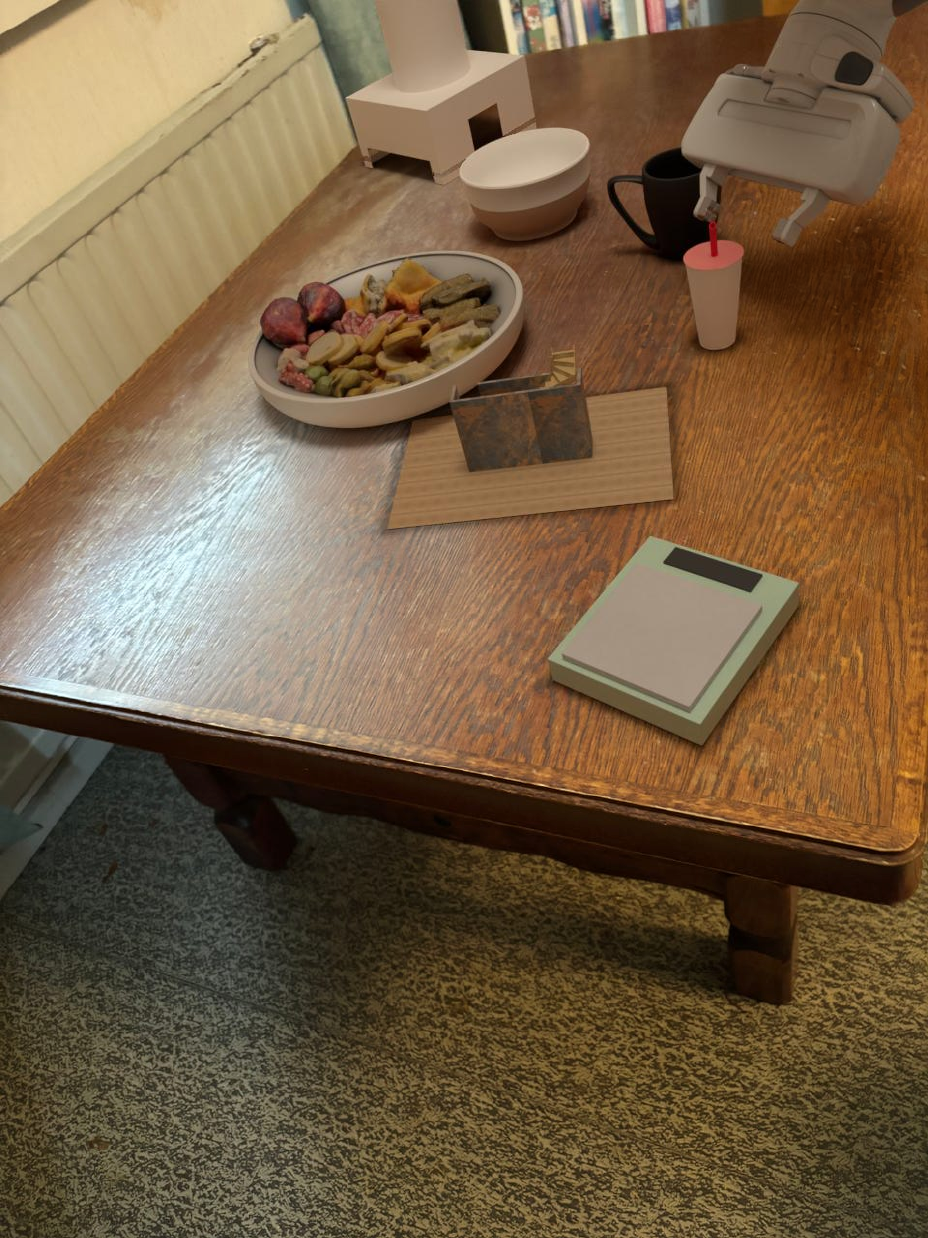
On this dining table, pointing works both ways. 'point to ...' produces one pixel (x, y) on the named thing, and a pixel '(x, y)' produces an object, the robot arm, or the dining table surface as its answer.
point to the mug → (668, 203)
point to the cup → (715, 289)
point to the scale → (675, 637)
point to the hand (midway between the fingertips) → (740, 230)
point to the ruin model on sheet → (535, 451)
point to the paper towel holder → (435, 88)
